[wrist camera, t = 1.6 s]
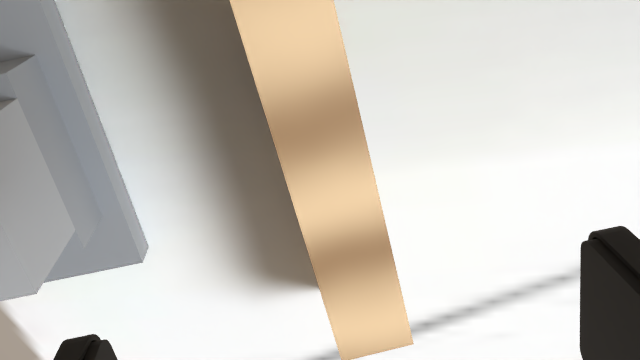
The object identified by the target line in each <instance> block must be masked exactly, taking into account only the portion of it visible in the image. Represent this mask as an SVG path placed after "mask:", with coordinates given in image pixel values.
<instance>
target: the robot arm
mask: <svg viewBox="0 0 640 360" xmlns="http://www.w3.org/2000/svg"><path fill="white" fill-rule="evenodd" d="M580 351H581V355H582V358H583V360H640V239H638V238H637V237H636V236H635V235H634V234H633V233H632V232H630V231H629V230H628V229H627V228H625V227H624V226H618V227H613V228H608V229H603V230H598V231H593V232H592V233H590V235H589V238H588V240H587V241H584V242H582V244H581V276H580ZM54 360H117V357H116V355H115V353H114V351H113V349H112V347H111V344H110V343H109V341H107V340H100V338H99V337H98V336H97V335H95V334H92V335H87V336H82V337H77V338H72V339H67V340H65V341H63V342H62V344H61V345H60V347H59V349H58V351H57V354H56V356H55V358H54Z"/></svg>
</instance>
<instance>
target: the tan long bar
mask: <svg viewBox="0 0 640 360" xmlns="http://www.w3.org/2000/svg"><path fill="white" fill-rule="evenodd" d="M230 4H231V7H232V10H233V13H234V16H235V20H236V23H237V26H238V29H239V32H240V36H241V39H242V42H243V45H244V48H245V52H246V55H247V58H248V61H249V64H250V68H251V71H252V74H253V77H254V81H255V84H256V87H257V90H258V93H259V97H260V100H261V103H262V106H263V109H264V113H265V116H266V119H267V122H268V125H269V129H270V132H271V135H272V138H273V141H274V145H275V148H276V151H277V154H278V158H279V161H280V164H281V167H282V170H283V174H284V177H285V180H286V183H287V186H288V190H289V193H290V196H291V199H292V202H293V206H294V209H295V212H296V215H297V218H298V222H299V225H300V228H301V231H302V235H303V238H304V241H305V244H306V247H307V251H308V254H309V257H310V260H311V263H312V267H313V270H314V273H315V276H316V279H317V283H318V286H319V289H320V292H321V295H322V299H323V302H324V305H325V308H326V312H327V315H328V318H329V321H330V324H331V328H332V331H333V334H334V337H335V340H336V344H337V347H338V350H339V353H340V356H341V360H351V359H355V358H359V357H363V356H367V355H371V354H375V353H379V352H384V351H388V350H392V349H396V348H400V347H404V346H408V345H412V344H413V340H412V335H411V331H410V327H409V322H408V318H407V314H406V309H405V305H404V301H403V297H402V292H401V288H400V284H399V279H398V275H397V271H396V267H395V262H394V258H393V254H392V249H391V245H390V241H389V236H388V232H387V228H386V224H385V219H384V215H383V211H382V206H381V202H380V198H379V194H378V189H377V185H376V181H375V176H374V172H373V168H372V163H371V159H370V155H369V151H368V146H367V142H366V138H365V133H364V129H363V125H362V121H361V116H360V112H359V108H358V103H357V99H356V95H355V90H354V86H353V82H352V78H351V73H350V69H349V65H348V60H347V56H346V52H345V48H344V43H343V39H342V35H341V30H340V26H339V22H338V17H337V13H336V9H335V5H334V0H230Z"/></svg>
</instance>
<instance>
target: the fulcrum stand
mask: <svg viewBox="0 0 640 360" xmlns="http://www.w3.org/2000/svg"><path fill="white" fill-rule="evenodd" d="M147 249H148V244H147V241H146V239H145V236H144V234H143V231H142V228H141V226H140V223H139V221H138V218H137V215H136V213H135V210H134V208H133V205H132V202H131V200H130V197H129V194H128V192H127V189H126V187H125V184H124V181H123V179H122V176H121V174H120V171H119V168H118V166H117V163H116V161H115V158H114V155H113V153H112V150H111V147H110V145H109V142H108V140H107V137H106V134H105V132H104V129H103V127H102V124H101V121H100V119H99V116H98V114H97V111H96V108H95V106H94V103H93V100H92V98H91V95H90V93H89V90H88V87H87V85H86V82H85V80H84V77H83V74H82V72H81V69H80V66H79V64H78V61H77V59H76V56H75V53H74V51H73V48H72V46H71V43H70V40H69V38H68V35H67V33H66V30H65V27H64V25H63V22H62V19H61V17H60V14H59V12H58V9H57V6H56V4H55V1H54V0H0V301H4V300H9V299H14V298H19V297H23V296H28V295H33V294H37V292H38V290H39V289H40V287H41V286H42V284H43V283H45V282H49V281H54V280H59V279H64V278H69V277H74V276H79V275H84V274H89V273H94V272H99V271H104V270H108V269H113V268H118V267H123V266H128V265H133V264H138V263H143V260H144V258H145V255H146V252H147Z"/></svg>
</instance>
